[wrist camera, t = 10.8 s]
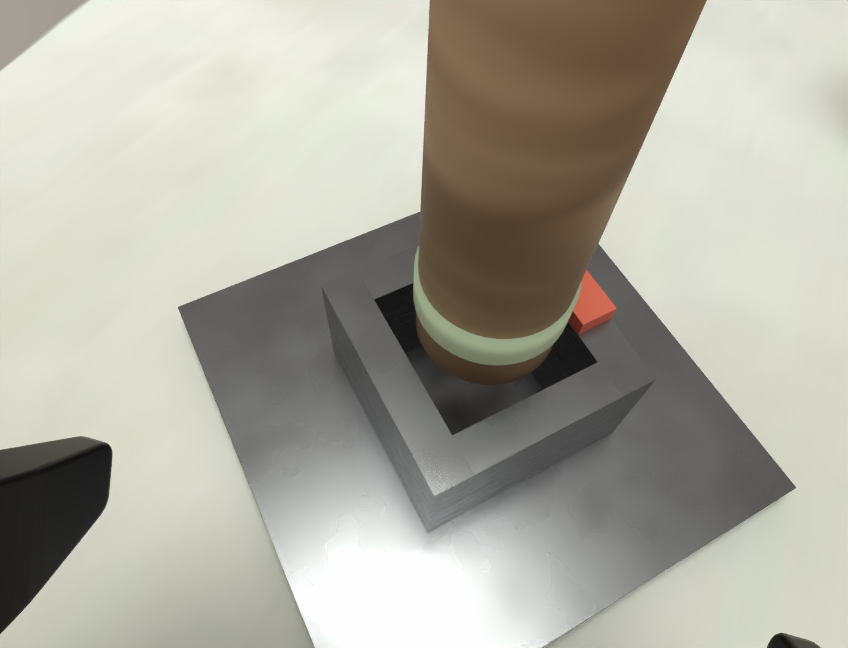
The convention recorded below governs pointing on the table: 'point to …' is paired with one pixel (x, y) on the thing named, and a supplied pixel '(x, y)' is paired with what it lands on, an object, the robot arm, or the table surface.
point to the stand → (466, 454)
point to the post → (528, 164)
